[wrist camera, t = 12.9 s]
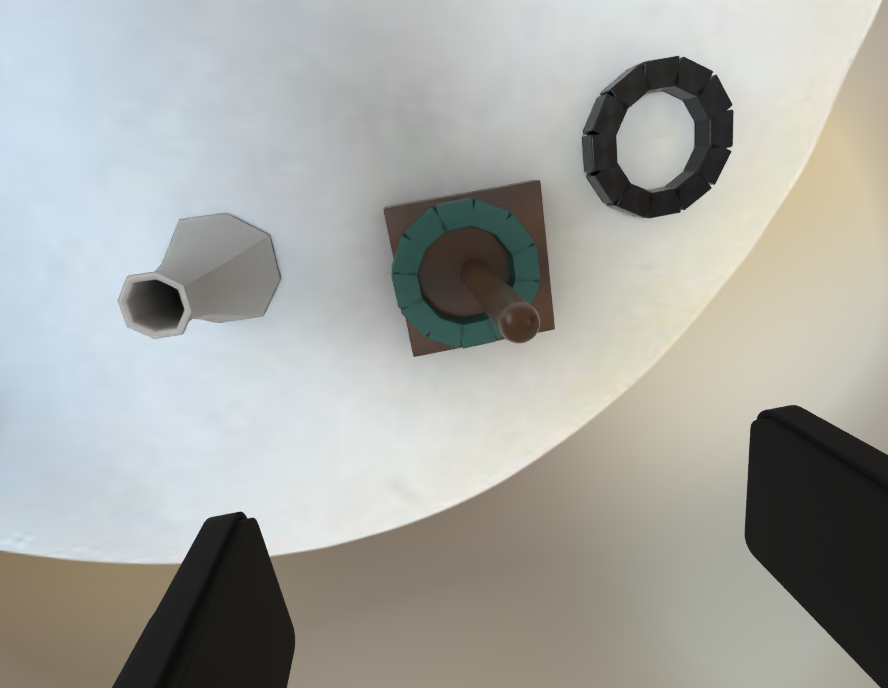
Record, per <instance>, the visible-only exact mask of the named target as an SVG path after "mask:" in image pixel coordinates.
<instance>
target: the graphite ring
mask: <svg viewBox="0 0 888 688" xmlns="http://www.w3.org/2000/svg"><path fill="white" fill-rule="evenodd" d="M712 73H713V71H711V70H709V69H707V68H705V67H703V66H701V65H699V64H697V63H695V62H693V61H691V60H689V59H687V58H685V57H682V58H679V56H675V57H669V58H663V59H657V60H652V61H646V62H643V63H641V64H639V65H636V66H634V67H632V68H630V69H628V70H627V71H626V72H624V73H623V74H622V75H621V76H620V77H619V78H617V79H616V80H615V81H614V82H613V83H612V84H611V85H609V86H608V87H607V88H606V89H605V90H604V91H602V92H601V96H600V97H598V98H597V99H596V102H595V104H594V106H593V109H592V111H591V114H590V116H589V119H588V121H587V123H586V126H585V128H584V131H583V133H585V134H587V135H588V136H584V137H582V143H583V157H584V171H585V172H590V173H589V174H588V175H587V176H586V177H587V179H588V180H589V182H590V183H591V185H592V186H593V188H594V189H595V191H596V192H597V194H598V195H599V197H600V198H601V200H602V201H603V202H605V203H607V206H610V207H612V208H615V209H617V210H620V211H622V212H624V213H627V214H629V215H632V216H636V217H642V218H653V217H659V216H664V215H669V214H675V213H680V212H681V210H685V209H686V208H688V207H689V206H690V205H691V204H693V203H694V202H695V201H696V200H698V199H699V198H700V197H701V196H703V195H704V194H705V193H706V192H708V191H709V190H710V189H711V186H710V185H715V183H716V181H717V179H718V177H719V175H720V173H721V171H722V169H723V167H724V165H725V163H726V161H727V159H728V157H729V155H730V153H731V151H730V150H728V149H726V148H728V147H732V145H733V110H727V109H729V108H730V107H731V106H732V103H731V101H730V99H729V97H728V95H727V93H726V91H725V90H724V88H723V86H722V84H721V82H720V80H719V78H718V76H717V75H713V76H711V75H712ZM660 90H663V91H665V92H667V93H669V94H671V95H673V96H675V97H677V98H680V99H682V100H683V101H684V103H685V105H686V106H687V108H688V110H689V112H690V114H691V115H692V117H693V119H694V121H695V149H694V151H693V153H692V155H691V157H690V159H689V161H688V163H687V165H686V167H685V169H684V172H683V173H682V174H680V175H679V176H678V177H677V178H675V179H674V180H673V181H672V182H671V183H669V184H668V185H667V186H666V187H664V188H660V189H654V190H649V191H647V190H645V189H642V188H640V187H638V186H635V185H633V184H631V183H630V182H629V180H628V179H627V177H626V175H625V174H624V172H623V171H622V169H621V168H620V166H619V165H618V163H617V146H616V135H617V132H618V130H619V128H620V125H621V123H622V121H623V118H624V116H625V114H626V112H627V109H628V108H629V107H630V106H632V105H633V104H634V103H635V102H636V101H637V100H639V99H640V98H641V97H642V96H643V95H645V94H646V93H649V92H655V91H660ZM726 110H727V111H726Z"/></svg>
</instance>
